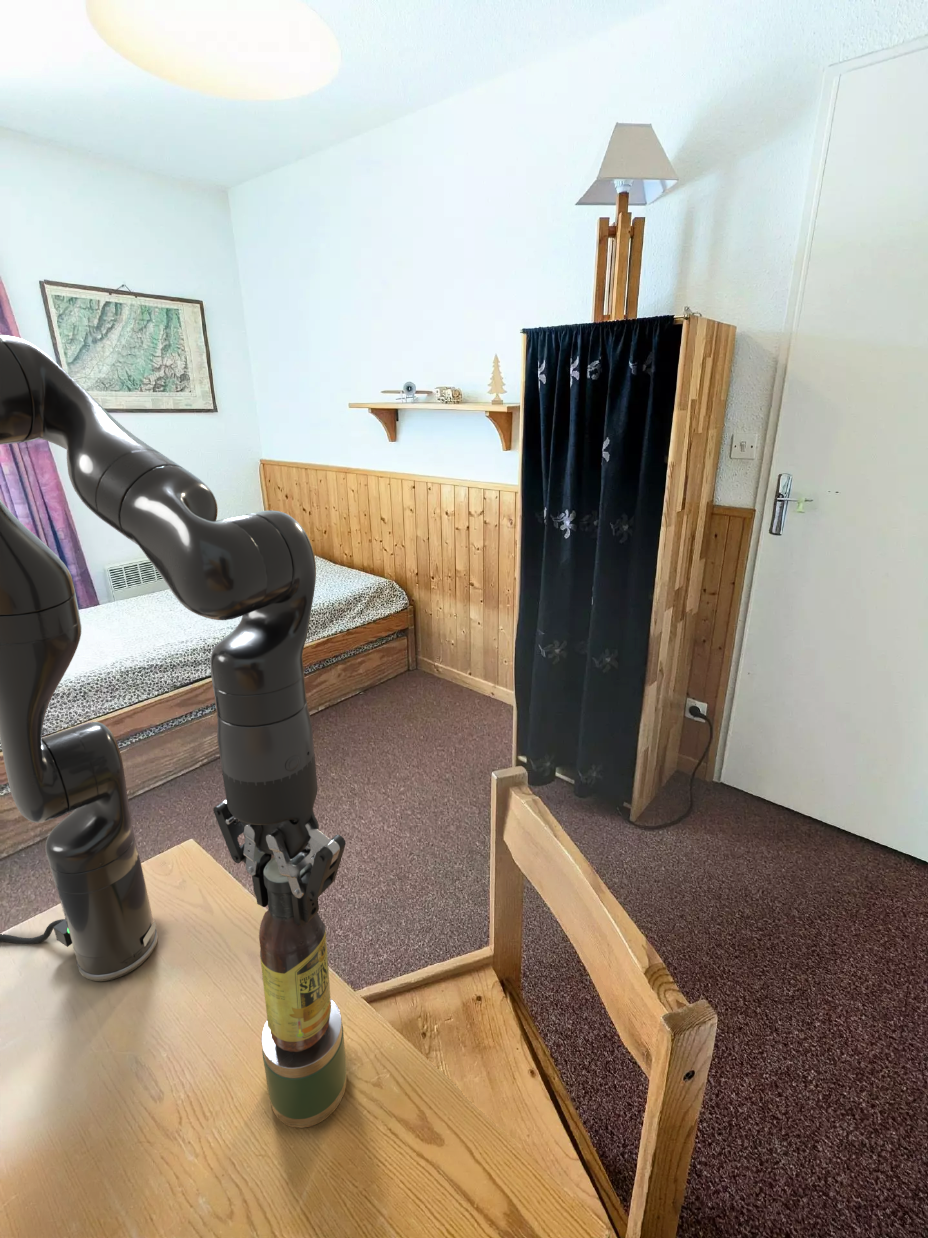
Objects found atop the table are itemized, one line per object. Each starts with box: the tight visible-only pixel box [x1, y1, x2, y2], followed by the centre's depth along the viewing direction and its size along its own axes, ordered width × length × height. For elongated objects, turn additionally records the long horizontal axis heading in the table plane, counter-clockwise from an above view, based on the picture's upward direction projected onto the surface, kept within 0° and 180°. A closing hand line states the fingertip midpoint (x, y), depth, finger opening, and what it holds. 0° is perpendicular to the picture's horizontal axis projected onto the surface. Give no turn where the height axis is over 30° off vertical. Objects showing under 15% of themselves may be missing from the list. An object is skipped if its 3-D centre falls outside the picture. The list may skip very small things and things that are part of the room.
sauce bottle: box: [258, 856, 332, 1052], centre depth 59 cm, size 6×6×20 cm
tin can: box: [261, 998, 348, 1129], centre depth 64 cm, size 8×8×9 cm
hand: (286, 908), depth 57 cm, fingers closed on sauce bottle, 4 cm apart
